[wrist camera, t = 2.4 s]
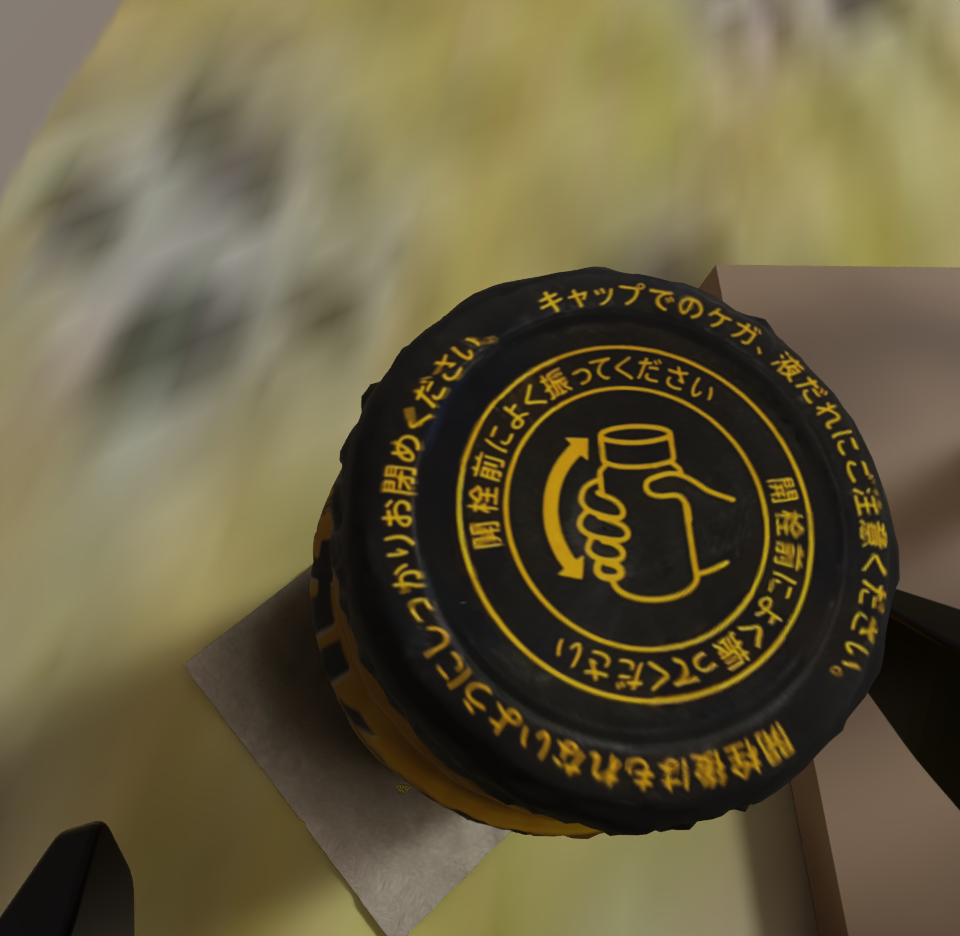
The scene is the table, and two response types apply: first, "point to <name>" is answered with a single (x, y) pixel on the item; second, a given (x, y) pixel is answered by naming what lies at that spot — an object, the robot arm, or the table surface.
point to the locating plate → (923, 572)
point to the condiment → (565, 587)
